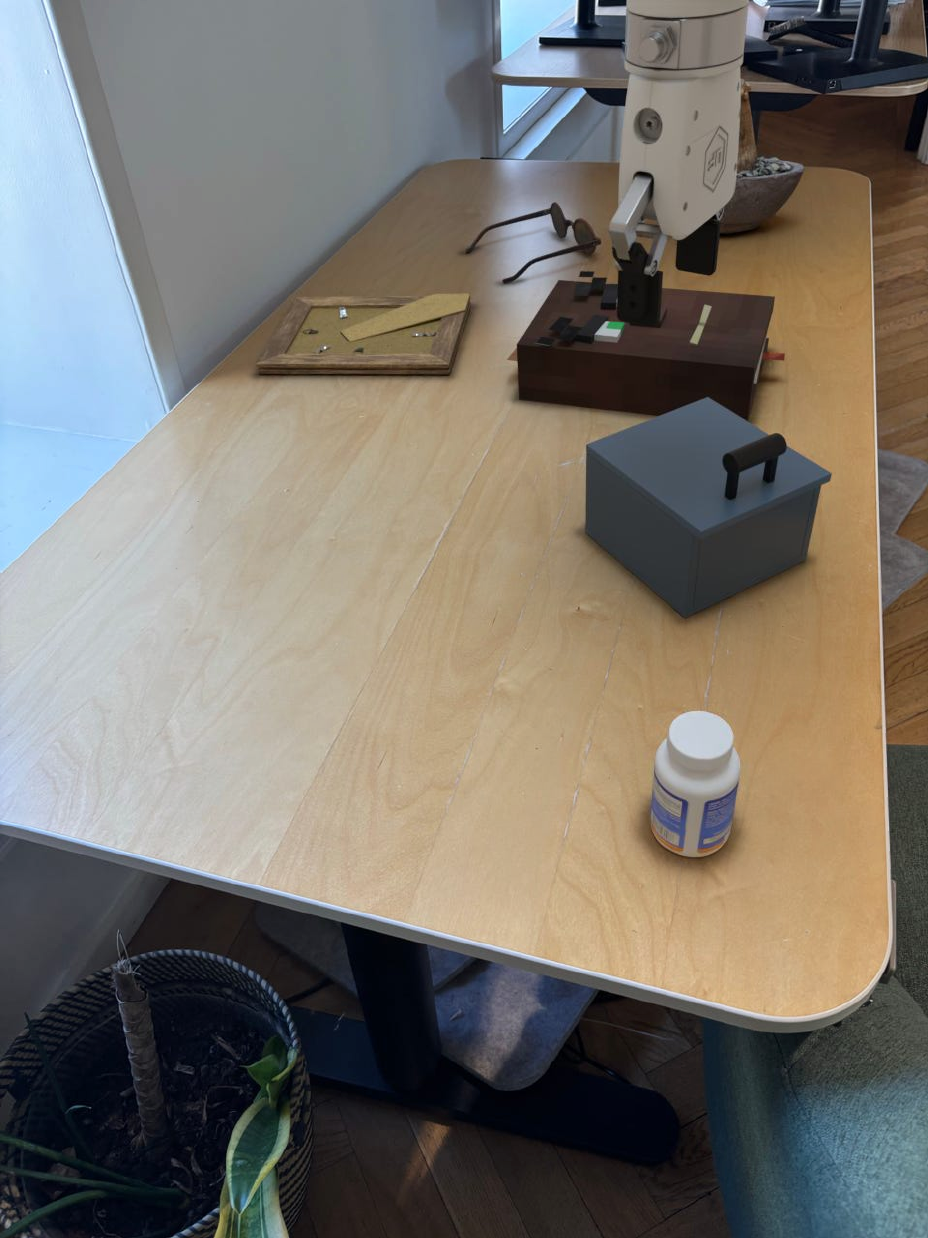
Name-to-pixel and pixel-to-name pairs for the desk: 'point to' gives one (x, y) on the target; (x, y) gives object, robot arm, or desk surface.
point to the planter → (756, 179)
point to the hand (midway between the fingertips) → (667, 296)
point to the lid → (707, 466)
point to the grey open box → (694, 542)
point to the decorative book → (644, 350)
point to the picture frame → (368, 335)
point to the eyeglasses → (580, 228)
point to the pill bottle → (695, 785)
